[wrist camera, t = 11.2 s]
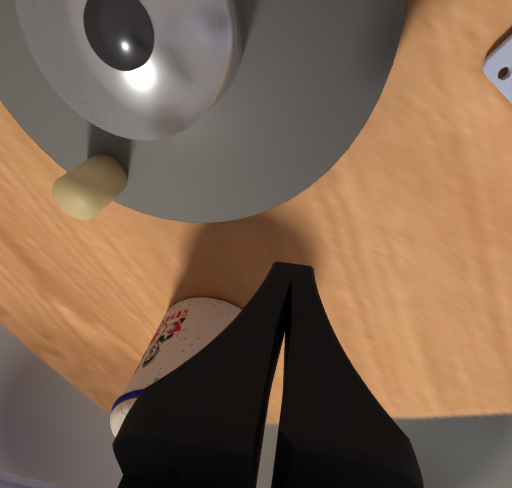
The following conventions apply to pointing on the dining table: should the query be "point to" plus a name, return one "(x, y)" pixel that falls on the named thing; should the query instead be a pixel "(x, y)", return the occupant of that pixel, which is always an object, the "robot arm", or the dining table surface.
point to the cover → (136, 58)
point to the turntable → (222, 116)
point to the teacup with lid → (175, 346)
